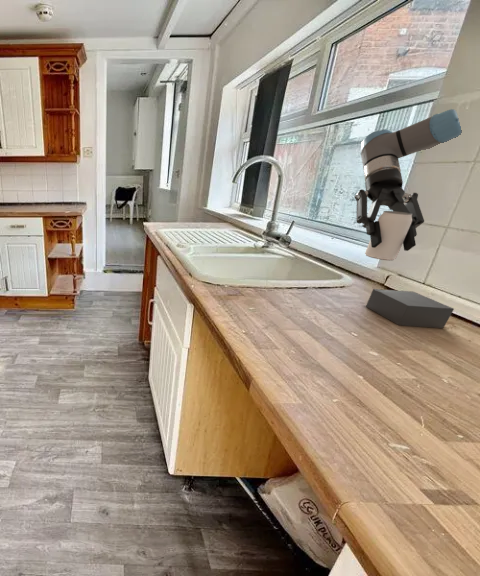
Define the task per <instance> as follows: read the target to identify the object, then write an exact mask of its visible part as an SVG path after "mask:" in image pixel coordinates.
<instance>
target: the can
mask: <svg viewBox="0 0 480 576" xmlns="http://www.w3.org/2000/svg"><path fill="white" fill-rule="evenodd" d="M412 215H413V214H411V213H405V212H396V211H393V210H383V213H381V215H379V217H378V219H377V221H379V224H380V231H381V238H382V243H380V244H379V245H378V246H377V247H375V248H373V247H372V246H371V238H370V239H369V241H368V244H367V247H366V249H365V251H364V254H365V256H366V257H368V258H370V259H376V260H381V261H394V260H396V259H397V257H398V255H399V253H400V250H401V249H402V248H401V247H402V246H403V241H404V239H405V237H406V234H407V232H408V230H409V227H410V225H411V223H412Z"/></svg>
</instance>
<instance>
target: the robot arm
mask: <svg viewBox="0 0 480 576" xmlns="http://www.w3.org/2000/svg"><path fill="white" fill-rule="evenodd" d="M458 116H459V115H458V112H457V110H456V109H454V108H450V109H447V110H445V111H442V112H439V113H435V114H433V115H432V116H429V117H426V118H425V119H423V120H420V121H418V122H416V123H413V124H410V125H409V126H406V127H404V128H401V129H399V130H395V131H392V130H390V129H387V128H385V129H381V130H380V129H379V130H377V129H376V130H375V131H372V132H370V133H369V134H368V135H366V136H365V137H364V139H362V141H361V143H360V156H361V163H362V168H363V175H364V176H363V177H364V185H365V190H364V189H359V190H358V191H357V193H356V194H355V195H354V199H355V202H356V224H358V225H359V224H362V227H363V229H364V228H365V230H366V235H367V236H369V237H370V239H371V246H372V247H373V248H375V247H377V246H378V245H379V244H380V243H382V238H381V231H380V224H379V221H378V220H376V219H377V216H378V213H379V210H380V208H381V207H382V206H384V207H385V206H386V207H388V209H389V211H396V212H405V213H411V214H413V215H412V223H411V225H410V227H409V230H408V232H407V234H406V237H405V239H404V241H403V244H402V246H403V250H404V251H405V252H408V251H410V250H412V249H413V248H414V247H416V246H417V244H416V240H415V238H416V237H417V236H418V233H417V232H418V231H417V228H418V227H420V226H421V225H422V224H424V223H425V219H424V216H423V211H422V210H421V207H420V204H419V201H418V198H419V193H417V192H413V193H406V191H405V190H404V189H403V183H404V182H403V175H402V170H401V169H402V168H401V164H400V160H399V159H401V158H404V157H407V156H410V155H413V154H415V153H418V152H419V151H421V150H426V149H430V148H432V147H434V146H436V145H438V144H440V143H444V142H447V141H449V140H451V139H453V138H456V137H458V136H459V135H461V133H462V130H461V126H460V122H459V118H458ZM368 199H369V200H370V201H371V204H370V205H369V210H368Z"/></svg>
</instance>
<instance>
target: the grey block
mask: <svg viewBox="0 0 480 576" xmlns="http://www.w3.org/2000/svg"><path fill="white" fill-rule="evenodd" d="M365 307H366V308H368V309H369V310H371V311H373V312H375V313H376V314H378V315H380V316H382V317H384V318H385V319H387V320H389V321H390V322H392V323H394V324H396V325H398V326H403V327H404V326H406V327H419V328H433V329H434V328H435V329H444V328H445V327H446V324H447V323H448V321H449V319H450V317H451V315H452V314H453V312H454V311H455V308H453V307H451V306H449V305H447V304H444V303H442V302H440V301H437V300H435V299H432V298H429V297H428V296H425V295H422V294H421V293H418V292H415V291H409V290H395V289H380V288H373V289H372V291H371V293H370V296H369V298H368V301H367V303H366V305H365Z"/></svg>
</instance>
